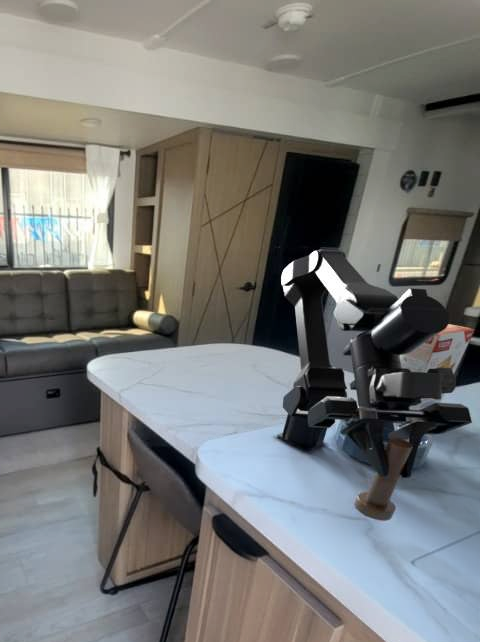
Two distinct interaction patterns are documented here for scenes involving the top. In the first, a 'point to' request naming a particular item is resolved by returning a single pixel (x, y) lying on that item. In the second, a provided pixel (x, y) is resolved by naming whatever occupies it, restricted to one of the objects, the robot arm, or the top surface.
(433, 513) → the top surface
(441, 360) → the cracker box
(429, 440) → the bowl
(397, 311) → the robot arm
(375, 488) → the brown flanged rod
